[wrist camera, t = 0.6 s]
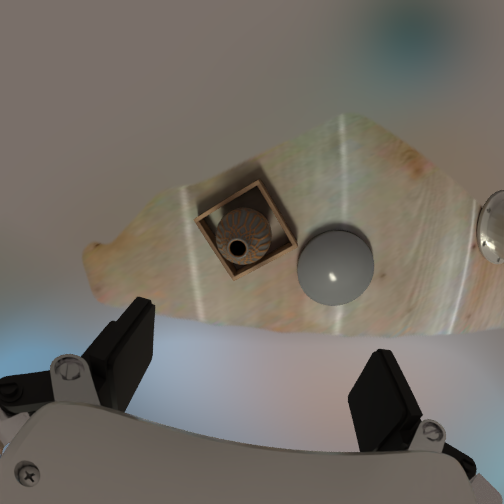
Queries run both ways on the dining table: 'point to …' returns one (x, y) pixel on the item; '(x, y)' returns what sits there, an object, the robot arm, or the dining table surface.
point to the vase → (243, 236)
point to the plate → (335, 267)
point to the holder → (265, 259)
